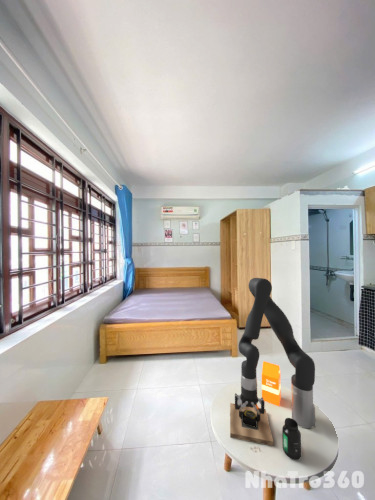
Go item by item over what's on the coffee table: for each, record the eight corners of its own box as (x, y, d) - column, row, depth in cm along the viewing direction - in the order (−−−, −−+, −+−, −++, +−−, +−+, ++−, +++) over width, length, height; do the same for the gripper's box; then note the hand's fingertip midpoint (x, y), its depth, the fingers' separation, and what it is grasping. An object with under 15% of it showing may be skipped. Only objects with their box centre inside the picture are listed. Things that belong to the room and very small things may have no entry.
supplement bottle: (285, 458, 76) (284, 427, 77) (280, 442, 83) (280, 414, 83) (304, 462, 75) (303, 431, 75) (298, 446, 81) (297, 417, 82)
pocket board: (265, 412, 99) (265, 409, 99) (273, 446, 81) (273, 441, 82) (230, 406, 103) (230, 403, 103) (230, 437, 85) (230, 433, 85)
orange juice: (278, 406, 103) (278, 369, 104) (261, 399, 108) (261, 363, 109) (281, 397, 109) (280, 362, 110) (264, 391, 114) (264, 357, 115)
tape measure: (241, 425, 91) (241, 417, 91) (243, 414, 97) (243, 407, 98) (256, 430, 89) (256, 422, 89) (257, 419, 95) (257, 411, 95)
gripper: (263, 381, 95) (263, 415, 94) (233, 377, 98) (234, 410, 98) (266, 392, 88) (266, 428, 87) (234, 387, 91) (234, 422, 90)
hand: (249, 419), depth 92 cm, fingers closed on tape measure, 7 cm apart
